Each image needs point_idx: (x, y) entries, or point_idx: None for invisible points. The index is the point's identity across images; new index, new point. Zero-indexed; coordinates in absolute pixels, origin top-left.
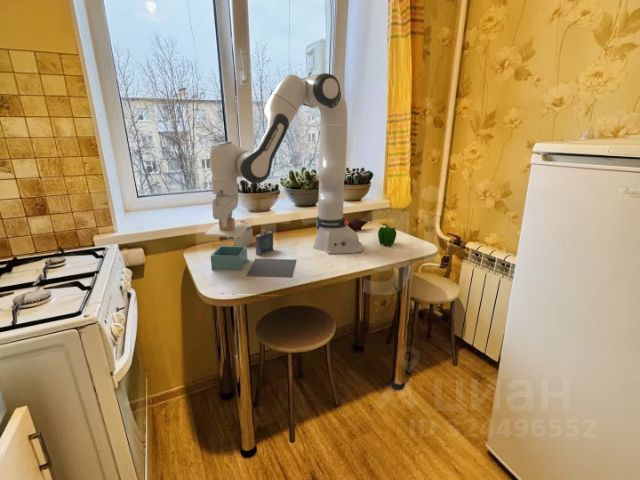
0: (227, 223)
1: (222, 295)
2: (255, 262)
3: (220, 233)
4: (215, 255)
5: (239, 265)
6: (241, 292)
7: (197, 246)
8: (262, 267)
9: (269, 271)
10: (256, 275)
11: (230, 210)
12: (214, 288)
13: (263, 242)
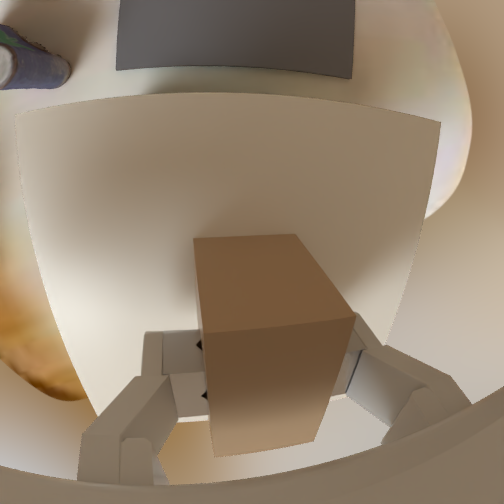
0: (360, 334)
1: (458, 150)
2: (177, 52)
3: (377, 311)
4: None
5: None
6: (449, 92)
7: (43, 374)
8: (248, 7)
9: None
10: (343, 32)
11: (399, 495)
12: None
13: (10, 44)
